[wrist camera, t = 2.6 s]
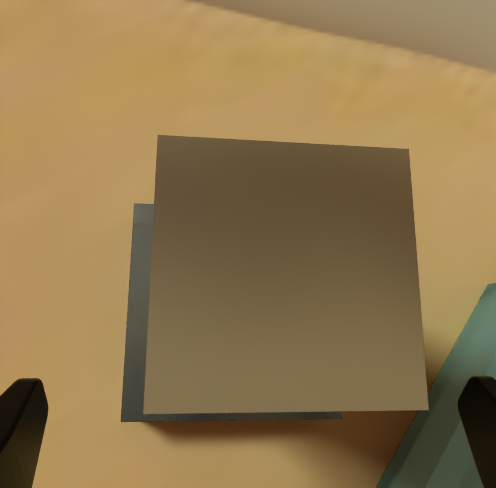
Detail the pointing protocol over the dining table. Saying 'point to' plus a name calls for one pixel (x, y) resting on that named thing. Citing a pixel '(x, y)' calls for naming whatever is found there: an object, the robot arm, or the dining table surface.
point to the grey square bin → (138, 339)
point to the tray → (448, 413)
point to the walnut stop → (283, 279)
